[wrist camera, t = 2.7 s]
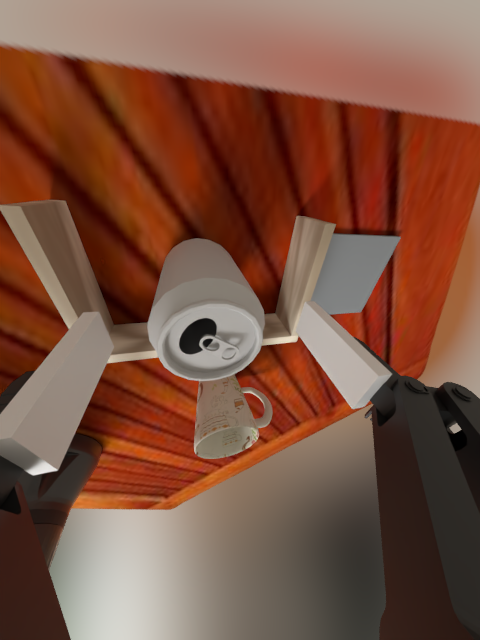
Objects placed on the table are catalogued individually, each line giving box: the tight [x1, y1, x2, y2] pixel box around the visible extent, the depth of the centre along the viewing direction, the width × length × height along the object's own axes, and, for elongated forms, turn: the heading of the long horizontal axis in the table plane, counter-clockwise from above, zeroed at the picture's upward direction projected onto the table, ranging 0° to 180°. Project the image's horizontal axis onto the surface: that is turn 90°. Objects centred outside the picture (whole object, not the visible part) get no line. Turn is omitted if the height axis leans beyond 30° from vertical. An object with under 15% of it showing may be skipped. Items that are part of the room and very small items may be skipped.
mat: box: [310, 233, 401, 314], centre depth 25 cm, size 11×11×1 cm
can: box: [147, 238, 265, 381], centre depth 15 cm, size 8×8×12 cm
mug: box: [194, 374, 272, 459], centre depth 28 cm, size 8×13×10 cm, turn 73°
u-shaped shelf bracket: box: [0, 200, 336, 363], centre depth 18 cm, size 22×13×5 cm, turn 85°
